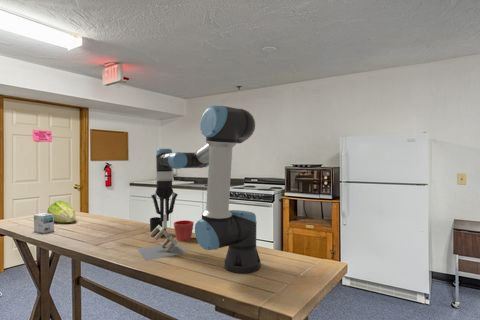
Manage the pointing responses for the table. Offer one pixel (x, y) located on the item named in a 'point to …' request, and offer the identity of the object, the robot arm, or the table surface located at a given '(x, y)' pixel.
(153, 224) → the pen holder
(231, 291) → the table surface
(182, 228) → the flower pot
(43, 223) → the light bulb box
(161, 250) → the mat
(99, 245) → the table surface
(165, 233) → the stool
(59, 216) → the lettuce
